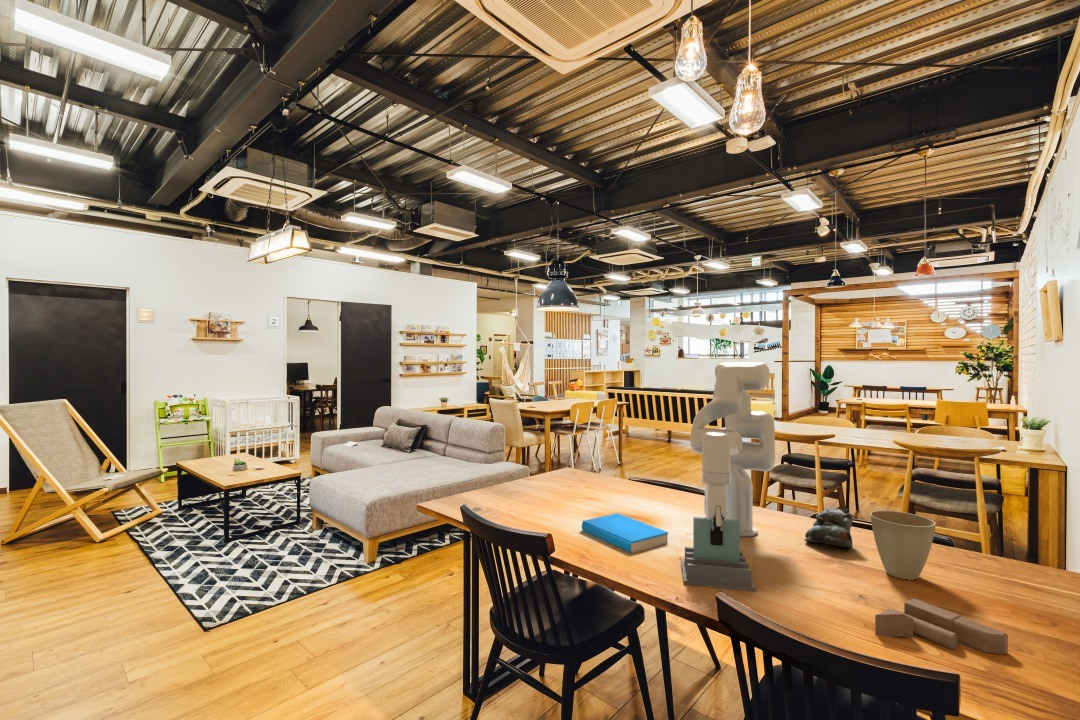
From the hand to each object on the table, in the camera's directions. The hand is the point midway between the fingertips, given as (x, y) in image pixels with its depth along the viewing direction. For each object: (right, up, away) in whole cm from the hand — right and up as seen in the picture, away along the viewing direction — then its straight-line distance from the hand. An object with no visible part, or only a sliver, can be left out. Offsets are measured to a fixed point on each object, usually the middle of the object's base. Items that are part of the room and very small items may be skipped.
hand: (716, 543), depth 138 cm
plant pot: (+53, -10, +1) cm, 53 cm away
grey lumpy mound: (+45, -10, +24) cm, 52 cm away
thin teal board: (0, -6, 0) cm, 6 cm away
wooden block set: (+35, -10, -33) cm, 49 cm away
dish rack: (0, -9, 0) cm, 9 cm away
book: (-20, -10, +32) cm, 39 cm away
